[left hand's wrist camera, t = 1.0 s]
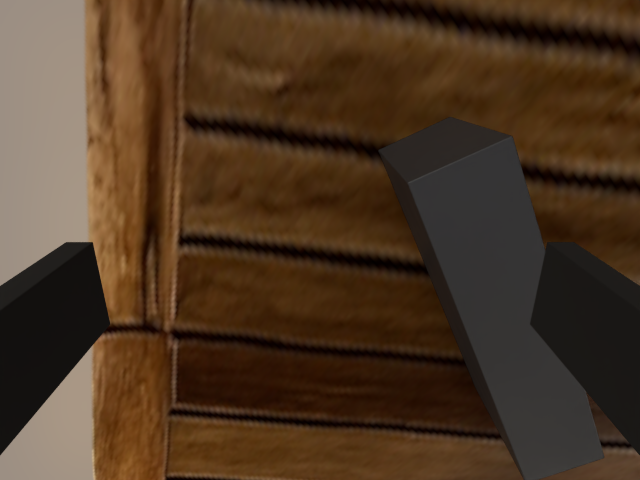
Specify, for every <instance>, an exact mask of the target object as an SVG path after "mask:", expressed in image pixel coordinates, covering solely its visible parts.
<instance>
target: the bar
mask: <svg viewBox="0 0 640 480" xmlns="http://www.w3.org/2000/svg"><path fill="white" fill-rule="evenodd" d="M379 154H380V156H381V159H382V161H383V163H384V166H385V168H386V171H387V173H388V176H389V178H390V180H391V183H392V185H393V188H394V190H395V193H396V195H397V198H398V200H399V202H400V205H401V207H402V210H403V212H404V215H405V217H406V220H407V222H408V224H409V227H410V229H411V232H412V234H413V237H414V239H415V241H416V244H417V246H418V249H419V251H420V254H421V256H422V259H423V261H424V263H425V266H426V268H427V271H428V273H429V276H430V278H431V281H432V283H433V285H434V288H435V290H436V293H437V295H438V298H439V300H440V302H441V305H442V307H443V310H444V312H445V315H446V317H447V320H448V322H449V324H450V327H451V329H452V332H453V334H454V337H455V339H456V342H457V344H458V346H459V349H460V351H461V354H462V356H463V359H464V361H465V363H466V366H467V368H468V371H469V373H470V376H471V378H472V381H473V383H474V385H475V388H476V390H477V392H478V393H479V395H480V397H481V399H482V401H483V403H484V405H485V407H486V409H487V410H488V412H489V414H490V416H491V418H492V420H493V422H494V424H495V426H496V428H497V429H498V431H499V433H500V435H501V437H502V439H503V441H504V443H505V445H506V447H507V448H508V450H509V452H510V454H511V456H512V458H513V460H514V462H515V464H516V466H517V467H518V469H519V471H520V473H521V475H522V477H523V479H524V480H539V479H542V478H545V477H548V476H551V475H554V474H557V473H560V472H563V471H566V470H569V469H572V468H575V467H578V466H581V465H584V464H587V463H590V462H593V461H596V460H600V459H603V458H604V454H603V451H602V447H601V444H600V440H599V437H598V433H597V430H596V426H595V423H594V419H593V416H592V412H591V409H590V406H589V402H588V399H587V395H586V392H585V389H584V388H583V387H582V386H581V385H580V383H579V382H578V381H577V380H576V379H575V377H574V376H573V375H572V374H571V373H570V371H569V370H568V369H567V368H566V367H565V365H564V364H563V363H562V362H561V361H560V360H559V358H558V357H557V356H556V355H555V354H554V352H553V351H552V350H551V349H550V348H549V346H548V345H547V344H546V343H545V342H544V340H543V339H542V338H541V337H540V336H539V334H538V333H537V332H536V331H535V330H534V329H533V327H532V326H531V325H530V321H531V316H532V312H533V307H534V302H535V298H536V293H537V288H538V284H539V279H540V274H541V270H542V265H543V260H544V256H545V248H544V245H543V241H542V238H541V234H540V231H539V227H538V224H537V220H536V217H535V213H534V210H533V206H532V203H531V199H530V196H529V192H528V189H527V185H526V182H525V178H524V175H523V171H522V168H521V164H520V161H519V157H518V154H517V150H516V147H515V143H514V140H513V137H512V136H510V135H507V134H504V133H500V132H497V131H494V130H491V129H487V128H484V127H481V126H478V125H475V124H471V123H468V122H465V121H462V120H459V119H455V118H452V117H449V118H447V119H445V120H442V121H440V122H438V123H436V124H434V125H432V126H429V127H427V128H425V129H423V130H421V131H419V132H417V133H414V134H412V135H410V136H408V137H406V138H404V139H401V140H399V141H397V142H395V143H393V144H391V145H388V146H386V147H384V148H382V149H380V150H379Z"/></svg>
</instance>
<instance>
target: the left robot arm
mask: <svg viewBox="0 0 640 480" xmlns="http://www.w3.org/2000/svg"><path fill="white" fill-rule="evenodd" d="M109 325H110V321H109V316H108V312H107V307H106V302H105V298H104V293H103V288H102V284H101V279H100V274H99V270H98V265H97V260H96V256H95V251H94V246H93V242H66V243H64V244H63V245H61V246H60V247H58V248H57V249H55V250H54V251H52V252H51V253H49V254H48V255H46V256H45V257H43V258H42V259H40V260H39V261H37V262H36V263H34V264H33V265H31V266H30V267H28V268H27V269H25V270H24V271H22V272H21V273H19V274H18V275H16V276H15V277H13V278H12V279H10V280H9V281H7V282H6V283H4V284H3V285H1V286H0V455H1V454H2V453H3V451H4V450H5V449H6V448H7V447H8V445H9V444H10V443H11V442H12V441H13V439H14V438H15V437H16V436H17V435H18V433H19V432H20V431H21V430H22V429H23V428H24V426H25V425H26V424H27V423H28V422H29V420H30V419H31V418H32V417H33V416H34V414H35V413H36V412H37V411H38V410H39V408H40V407H41V406H42V405H43V404H44V402H45V401H46V400H47V399H48V398H49V396H50V395H51V394H52V393H53V392H54V390H55V389H56V388H57V387H58V386H59V385H60V383H61V382H62V381H63V380H64V379H65V377H66V376H67V375H68V374H69V373H70V371H71V370H72V369H73V368H74V367H75V365H76V364H77V363H78V362H79V361H80V360H81V358H82V357H83V356H84V355H85V353H86V352H87V351H88V350H89V349H90V348H91V346H92V345H93V344H94V343H95V342H96V340H97V339H98V338H99V337H100V336H101V334H102V333H103V332H104V331H105V330H106V329H107V327H108V326H109ZM530 325H531V326H532V327H533V329H534V330H535V331H536V332H537V333H538V334H539V336H540V337H541V338H542V339H543V340H544V342H545V343H546V344H547V345H548V346H549V348H550V349H551V350H552V351H553V352H554V354H555V355H556V356H557V357H558V358H559V360H560V361H561V362H562V363H563V364H564V365H565V367H566V368H567V369H568V370H569V371H570V373H571V374H572V375H573V376H574V377H575V379H576V380H577V381H578V382H579V383H580V385H581V386H582V387H583V388H584V389H585V391H586V392H587V393H588V394H589V395H590V397H591V398H592V399H593V400H594V401H595V402H596V404H597V405H598V406H599V407H600V408H601V410H602V411H603V412H604V413H605V414H606V416H607V417H608V418H609V419H610V420H611V422H612V423H613V424H614V425H615V426H616V428H617V429H618V430H619V431H620V432H621V433H622V435H623V436H624V437H625V438H626V439H627V441H628V442H629V443H630V444H631V445H632V447H633V448H634V449H635V450H636V451H637V453H638V454H639V455H640V286H639V285H637V284H636V283H634V282H633V281H631V280H630V279H628V278H627V277H625V276H624V275H622V274H621V273H619V272H618V271H616V270H615V269H613V268H612V267H610V266H609V265H607V264H606V263H604V262H603V261H601V260H600V259H598V258H597V257H595V256H594V255H592V254H591V253H589V252H588V251H586V250H585V249H583V248H582V247H580V246H579V245H577V244H576V243H574V242H547V246H546V251H545V256H544V260H543V265H542V270H541V274H540V279H539V284H538V288H537V293H536V298H535V302H534V307H533V312H532V316H531V321H530Z"/></svg>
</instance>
